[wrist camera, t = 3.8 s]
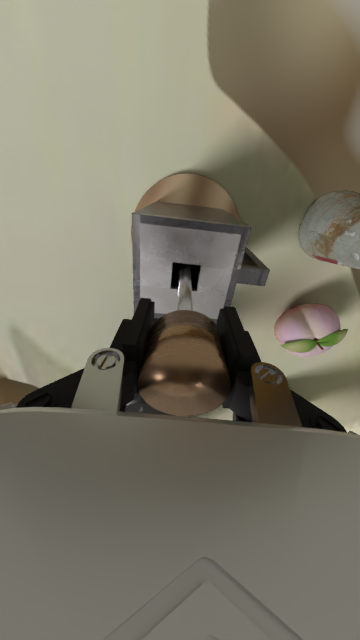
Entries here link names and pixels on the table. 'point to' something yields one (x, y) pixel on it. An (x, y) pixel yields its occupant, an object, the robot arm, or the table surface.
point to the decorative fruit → (308, 329)
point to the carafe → (191, 256)
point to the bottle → (333, 229)
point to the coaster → (189, 193)
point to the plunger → (184, 357)
